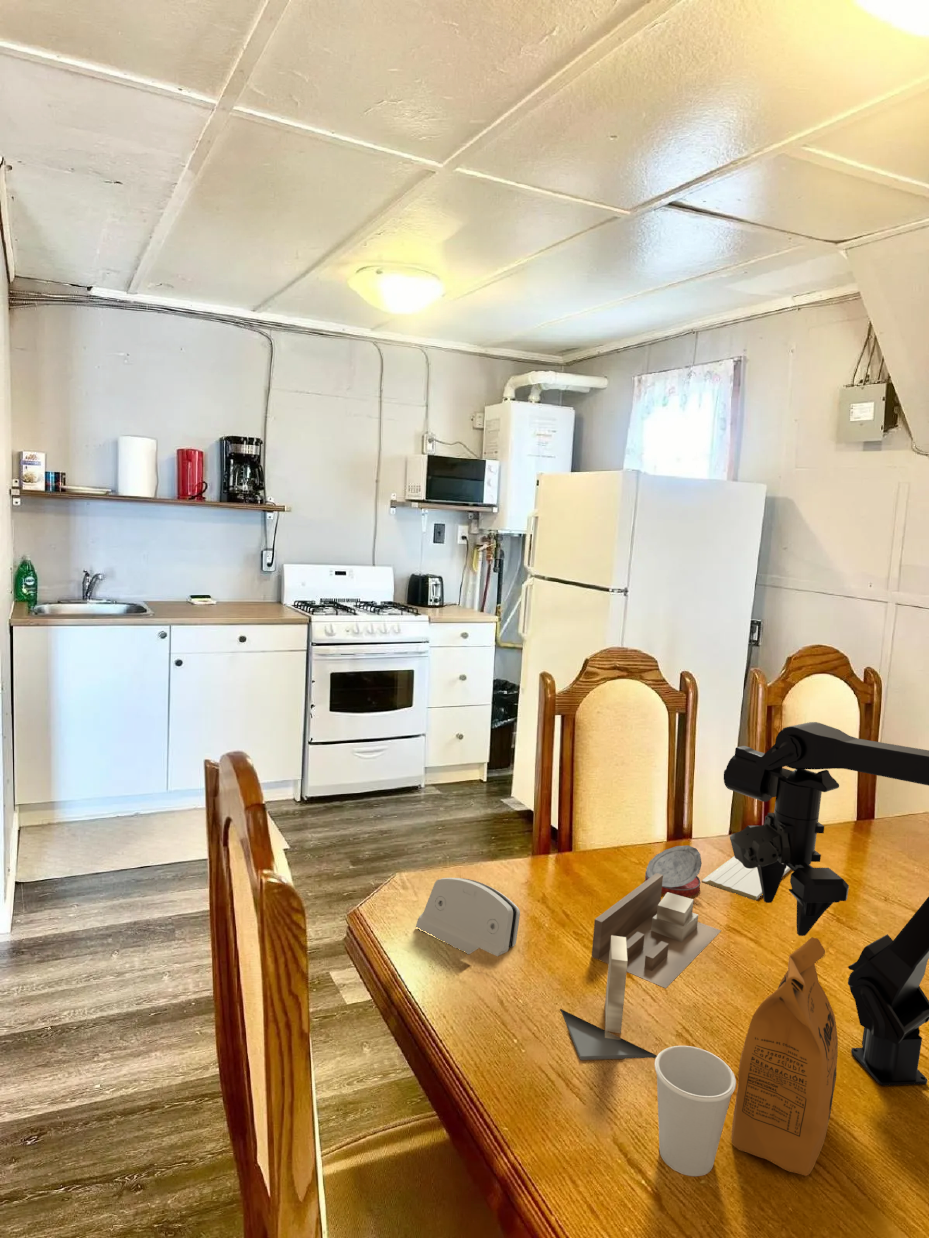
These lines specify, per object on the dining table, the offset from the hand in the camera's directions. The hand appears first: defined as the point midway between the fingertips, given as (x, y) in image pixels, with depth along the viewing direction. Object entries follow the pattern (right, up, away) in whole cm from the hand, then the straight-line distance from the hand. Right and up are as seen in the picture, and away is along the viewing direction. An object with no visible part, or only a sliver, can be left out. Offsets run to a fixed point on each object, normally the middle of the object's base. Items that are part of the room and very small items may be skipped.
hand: (783, 918), depth 114 cm
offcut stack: (-11, -9, +18) cm, 23 cm away
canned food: (-7, -8, +35) cm, 37 cm away
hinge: (-44, -9, +15) cm, 48 cm away
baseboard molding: (+13, -8, +49) cm, 51 cm away
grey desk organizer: (-15, -10, +13) cm, 22 cm away
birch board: (-25, -12, -6) cm, 29 cm away
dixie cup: (-21, -16, -27) cm, 38 cm away
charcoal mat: (-25, -13, -6) cm, 29 cm away
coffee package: (-10, -16, -23) cm, 30 cm away
